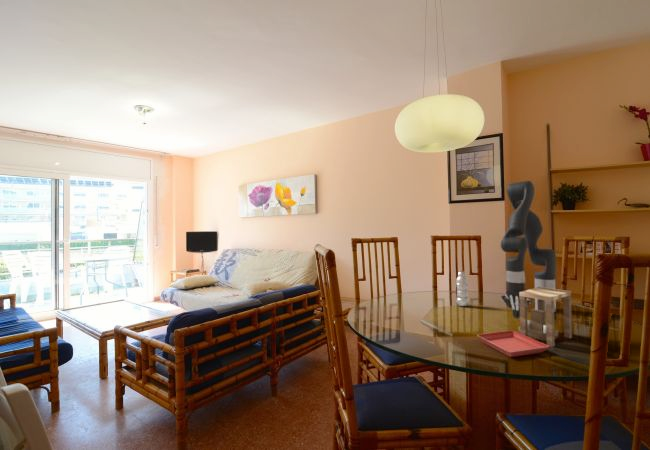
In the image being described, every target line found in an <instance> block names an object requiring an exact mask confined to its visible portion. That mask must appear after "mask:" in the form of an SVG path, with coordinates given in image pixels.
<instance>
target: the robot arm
mask: <svg viewBox="0 0 650 450" xmlns="http://www.w3.org/2000/svg"><path fill="white" fill-rule="evenodd" d="M506 193H507V197H508V200H509V201H510V204H511V206H512V208H513V212H512V213H511V214H510V216H509V220H508V225H507V228H506V229H507V230H506V231H505V233H504V235H503V237H502V239H501V241H500V248H501V250H502V251H503V252H504V253H517V255H516V256H510V257H507V258H506V260H505V261H506V262H505V263H506V265H505V266H506V267H505V269H506V272H505V281H506V284H505V285H506V286H505V288H506V292H505V294H504V295H502V296H501V299H502V300H503V301H504V303H505V305H506V306H507V308H510V309H511V310H512V316H513V318H514V319H520V301H519V292H522V291H526V273H525V258H526V253H527V251H528V255H529V260H530V261H531V263H532V264H533V265H534V266H541V267H545V269H543V270H541V271H536V272H535V273H534V276H533V277H534V288H537V287H545V288H552V289H556V272H557V271H556V269H557V268H556V267H557V266H556V265H557V263H556V262H557V254H556V252H555V250H554V249H551V248H539V247H538V244H537V243H538V242H539V241H538V240H539V238H540V237H541V235H542V234H543V229H544V228H543V225H542V221H541V219H540V217H539V216H538V214H536V213H534V212H533V211H532V210H530V208H531V206H532V203H533V200H534V196H535V186H534V183H533V182H532V181H531V180H524V181H518V182H513V183H509V184H507V186H506ZM532 302H533V300H532V299H530V298H529V297H527V307H528V306H529V305H531V303H532ZM556 304H557V300H554V313H555V312H557V305H556ZM534 309H536V310H538V299H535V298H534ZM545 313H546V300H545Z"/></svg>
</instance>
